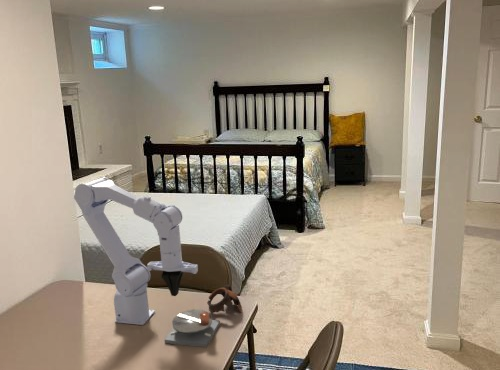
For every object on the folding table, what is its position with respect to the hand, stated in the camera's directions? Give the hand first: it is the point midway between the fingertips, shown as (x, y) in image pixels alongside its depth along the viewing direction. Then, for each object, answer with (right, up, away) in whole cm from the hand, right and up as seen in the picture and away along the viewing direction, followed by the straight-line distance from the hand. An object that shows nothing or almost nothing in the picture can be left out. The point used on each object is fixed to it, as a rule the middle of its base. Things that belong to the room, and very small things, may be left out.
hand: (174, 294), depth 130 cm
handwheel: (+5, -9, -2) cm, 11 cm away
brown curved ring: (+14, -7, +10) cm, 19 cm away
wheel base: (+6, -10, -2) cm, 12 cm away
